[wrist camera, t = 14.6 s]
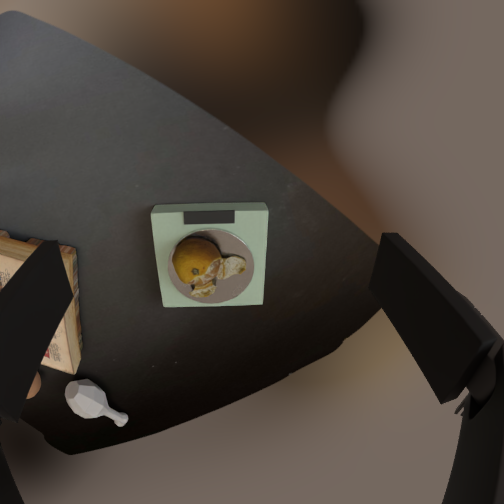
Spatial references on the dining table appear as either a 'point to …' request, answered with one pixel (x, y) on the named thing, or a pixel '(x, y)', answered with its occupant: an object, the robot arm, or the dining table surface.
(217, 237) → the scale pan
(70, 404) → the chicken leg
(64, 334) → the book
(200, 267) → the fruit
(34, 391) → the egg
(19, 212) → the dining table surface
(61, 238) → the dining table surface
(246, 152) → the dining table surface
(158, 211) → the scale
